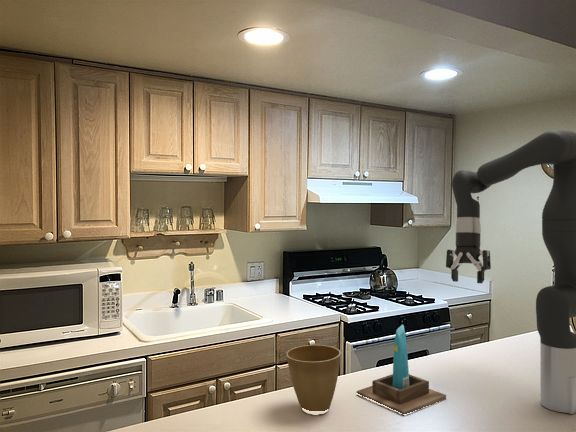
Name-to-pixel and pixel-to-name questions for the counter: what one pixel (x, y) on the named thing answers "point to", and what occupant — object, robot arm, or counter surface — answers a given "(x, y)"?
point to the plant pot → (314, 375)
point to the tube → (400, 360)
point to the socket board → (402, 394)
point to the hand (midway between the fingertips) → (467, 282)
